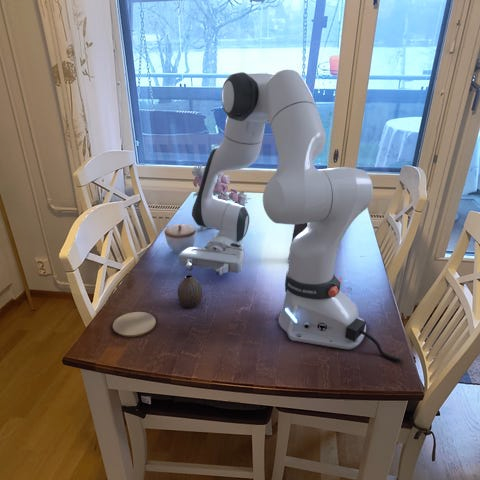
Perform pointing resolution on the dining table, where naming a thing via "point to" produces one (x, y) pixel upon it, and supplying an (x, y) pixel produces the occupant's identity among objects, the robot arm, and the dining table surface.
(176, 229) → the trinket box
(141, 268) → the dining table surface
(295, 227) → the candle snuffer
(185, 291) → the vase
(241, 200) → the flower
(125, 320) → the cork trivet
